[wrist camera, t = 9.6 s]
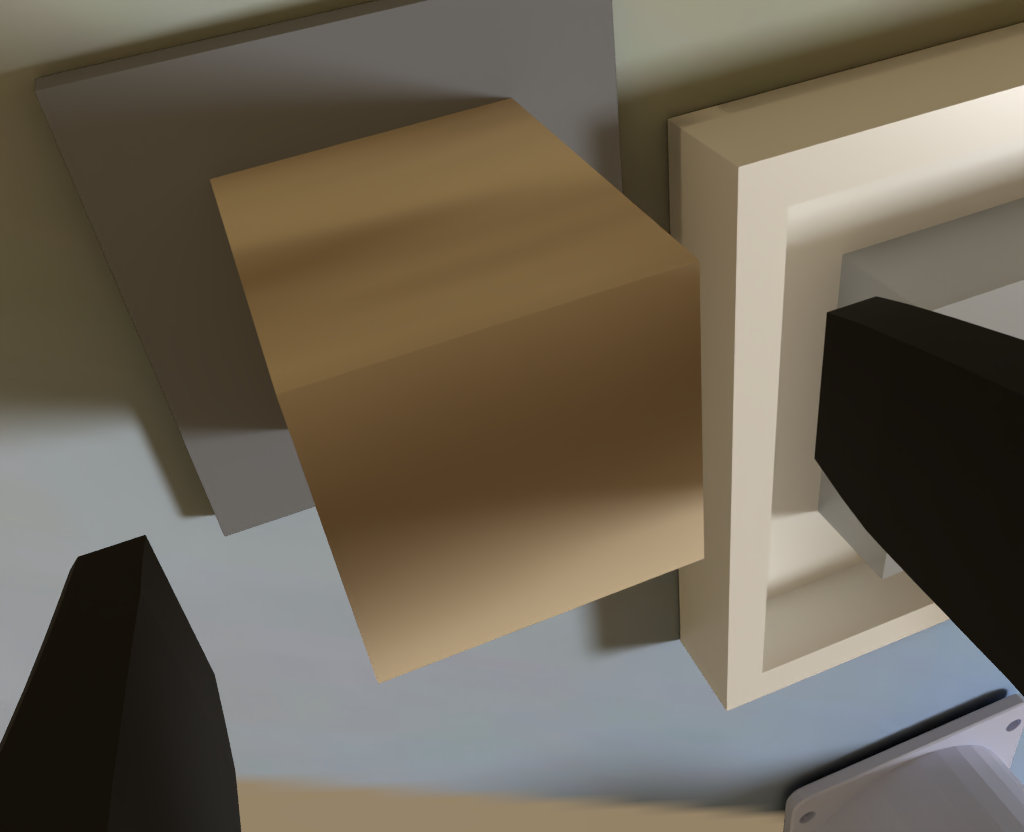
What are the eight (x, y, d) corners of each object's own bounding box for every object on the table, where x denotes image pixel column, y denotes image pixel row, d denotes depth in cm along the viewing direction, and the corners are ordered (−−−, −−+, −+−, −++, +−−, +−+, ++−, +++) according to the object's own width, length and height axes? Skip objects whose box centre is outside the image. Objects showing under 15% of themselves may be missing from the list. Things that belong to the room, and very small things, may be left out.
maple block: (545, 348, 15) (703, 558, 12) (295, 429, 15) (378, 684, 11) (511, 97, 13) (698, 259, 9) (209, 179, 12) (276, 394, 8)
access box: (1116, 469, 24) (1205, 534, 22) (680, 641, 22) (739, 730, 20) (1295, -52, 17) (1451, -22, 15) (667, 119, 14) (758, 180, 13)
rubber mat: (621, 384, 17) (634, 400, 17) (220, 516, 16) (224, 536, 15) (593, -49, 13) (609, -42, 12) (35, 78, 11) (34, 91, 11)
